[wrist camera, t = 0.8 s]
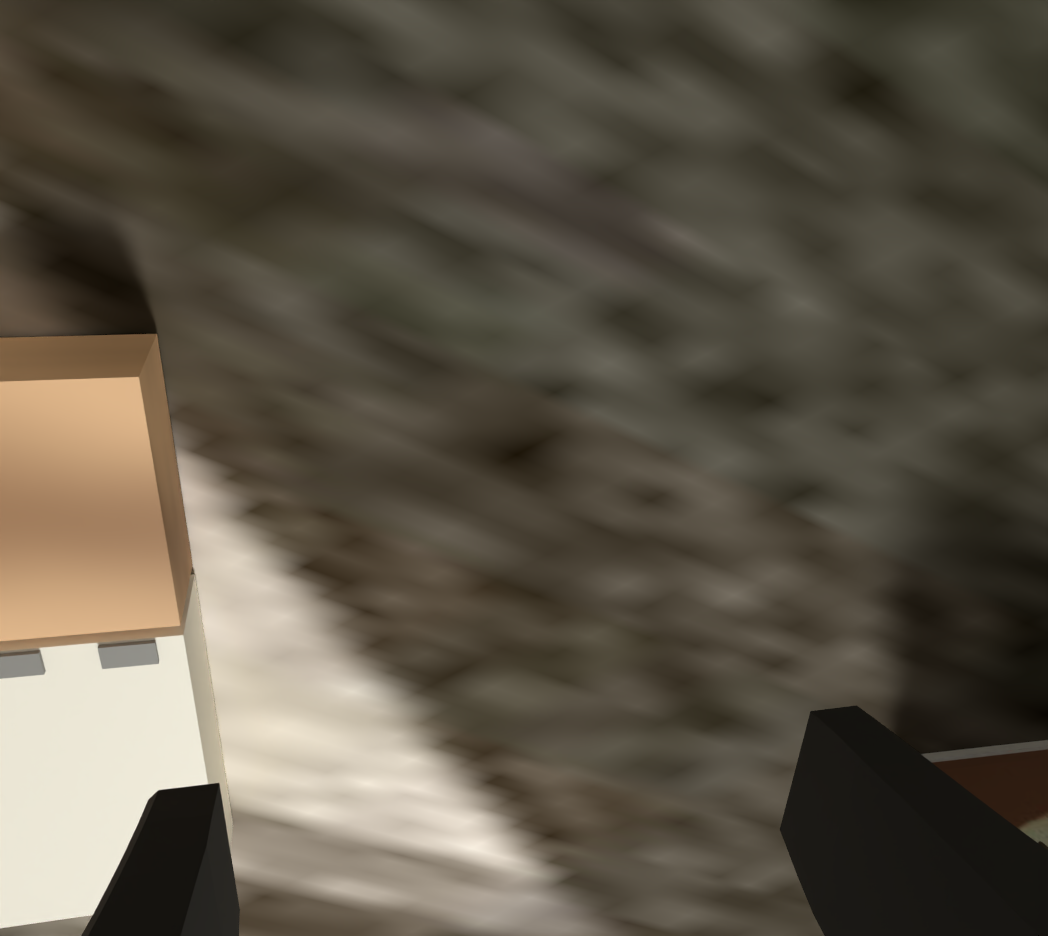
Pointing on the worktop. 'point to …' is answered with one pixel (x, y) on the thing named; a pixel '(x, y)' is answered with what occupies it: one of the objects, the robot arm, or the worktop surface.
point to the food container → (1005, 781)
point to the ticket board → (96, 755)
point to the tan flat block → (88, 489)
